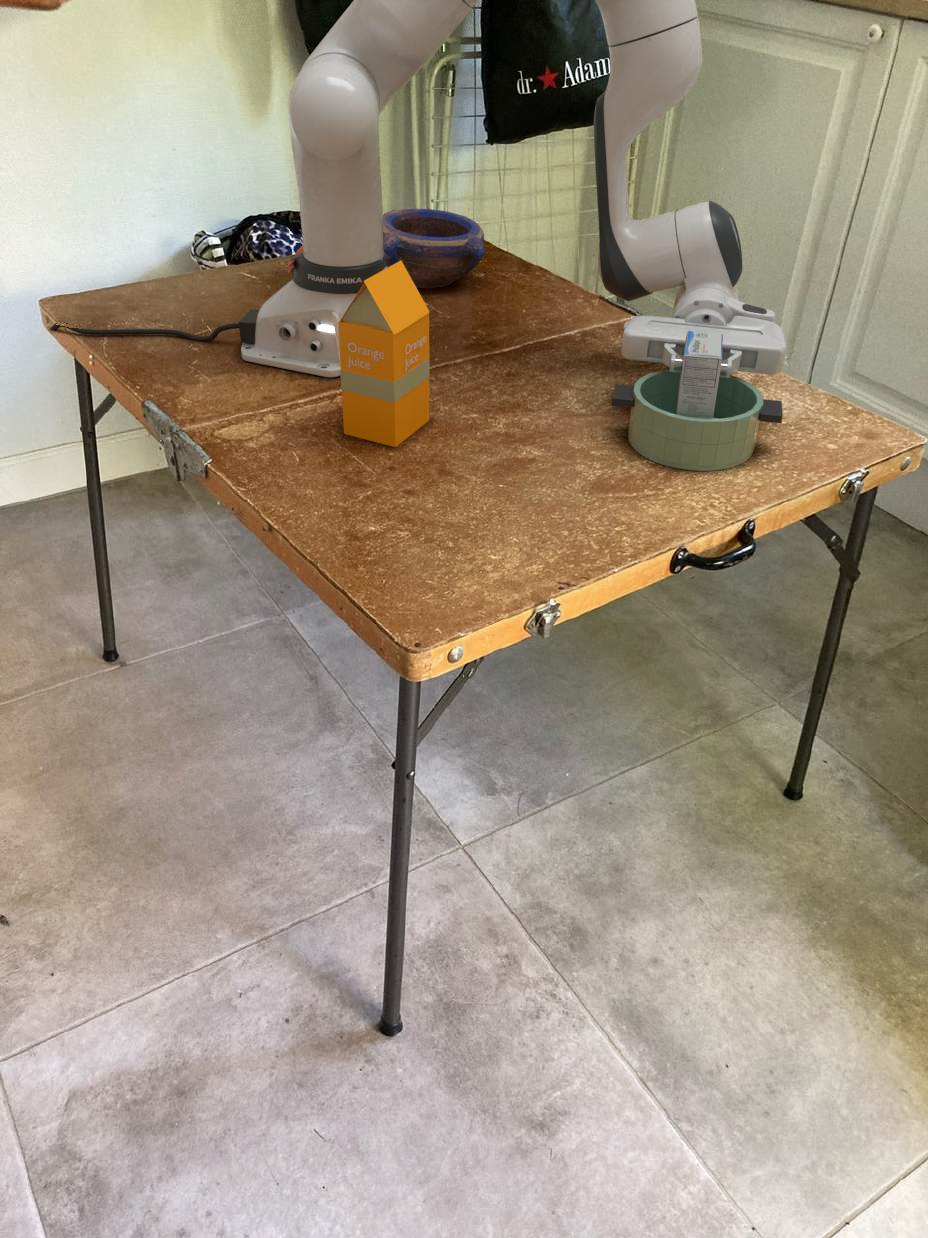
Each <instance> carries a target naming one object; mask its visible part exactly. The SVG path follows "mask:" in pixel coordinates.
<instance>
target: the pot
mask: <svg viewBox="0 0 928 1238" xmlns="http://www.w3.org/2000/svg"><path fill="white" fill-rule="evenodd" d="M669 370H670V368H665V369H659V370H656V371H652V372H649V373H646V375H643V376H641V377H640V378H639V379H638V380H637V381H636V382H635V383H634V385H633V386H634V390H633V398H634V402H633V408H631V407H630V415H629V416H630V417H629V424H628V426H629V427H628V433H627V434H628V442H629V444H630V446H631V447H632V448H633V450H634V451H636V452H637V454H639V455H640V456H642V457H644V458H646V459H647V460H649V461H651V462H654V463H657V464H659V465H662V466H666V467H669V468H674V469H678V470H685V471H694V472H695V471H696V472H711V471H712V472H713V471H723V470H726V469H731V468H734V467H737V466H740V465H742V464H743V463H745V462H747V461H748V460H749V459H750V458H751V457H752V455H753V454H754V450H755V447H756V442H757V438H758V432H759V427H760V422H761V421H759V417H760V413H761V411H762V408H763V399H764V396H763V394H762V392H760V390H759V389H758V388H757V387H756V386H754V384H752V383H751V382H749V381H747V380H745V379H742V378H740V377H739V376H735V375H733V374H730V378H726V377H725V378H722V377H719V382H718V389H717V395H716V402H715V408H714V415H713V419H701V418H692V417H685V416H681V415H676V414H677V406H678V394H679V385H680V377H681V373H676V372H674V371H673V372H669Z"/></svg>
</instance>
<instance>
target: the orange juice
mask: <svg viewBox="0 0 928 1238" xmlns="http://www.w3.org/2000/svg"><path fill="white" fill-rule="evenodd" d="M430 313H431V312H430V309H429V308H428V306H427V304H426V302H425V300H424V298H423V296H422V295H421V294H420V292H419V290H418V287H416V286H415V284H414V282H413V281H412V279H411V277H410V275H409V273H408V272H407V270H406V268H405V266H404V264H403V263H402V261H399V262H397V263H395V264H393V265H392V266H390V267H388V268H386V269H384V270H383V271H381V272H379V273H377V274H375V275H374V276H372V277H370V278H368V279H366V280H365V281H364V284H363V285H362V287H361V289H360V290H359V292H358V293H357V295H356V296H355V298H354V300H353V301H352V303H351V304H350V306H349V307H348V309H347V311H346V312H345V314H344V315H343V317H342V318H341V320H340V321H339V322H338V329H339V348H340V367H341V370H340V390H341V401H342V419H343V434H344V435H347V436H350V437H354V438H358V439H361V440H366V441H370V442H374V443H376V444H381V445H385V446H389V447H392V448H397V447H398V446H399V445H401V444H402V443H403V442H404V441H405V440H407V439H408V438H409V437H410V436H412V435H413V434H414V433H416V432H417V431H418V430H420V428H422V427H423V426H424V425H426V424H427V423H428V422H429V421H430V377H431V376H430V372H431V371H430V367H431V365H430V364H431V363H430Z"/></svg>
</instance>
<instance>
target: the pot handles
mask: <svg viewBox="0 0 928 1238" xmlns="http://www.w3.org/2000/svg"><path fill="white" fill-rule="evenodd" d="M633 390H634V385H630V384H621V383H616V384H615V386H614V390H613V392H612V393H613V394H612V398H611V406H612V407H613V406H614V407H623V408H630V409H631V408H633V402H634V398H633ZM783 417H784V416H783V401H782V400H774V399H766V398H763V408H762V411H761V413H760V417H759V421H760V422H766V423H772V424H773V423H774V424H782V421H783Z"/></svg>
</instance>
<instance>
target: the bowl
mask: <svg viewBox="0 0 928 1238" xmlns="http://www.w3.org/2000/svg"><path fill="white" fill-rule="evenodd" d="M484 242H485V233H484V230H483V228H482V227H481V226H480V225H479V223H478V222H476V221H475V220H473V219H471V218H469V217H468V216H466V215H462V214H458V213H454V212H451V211H446V210H441V209H431V208H403V209H391V210H388V211H387V212H384V213H383V248H384V252H385V253H386V255H387V266H388V267H390V266H392V265H393V264H395V263H397V262H399V261H402V263H403V264H404V266H405V268H406V270H407V272H408V273H409V275H410V277H411V279H412V281H413V282H414V284H415V286H416V288H417V289H418V288H419V289H434V288H441V287H445V286H448V285H451V284H452V283H454V281H456V280H457V279H459V278H461V277H463V276H465V275H467V274H469V273H470V272H472V271H473V270H474V269H475V268H476V267H477V266H478V264H480V263H481V261H482V260H483V258H484V256H485V253H486V248H485V245H484Z"/></svg>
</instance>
